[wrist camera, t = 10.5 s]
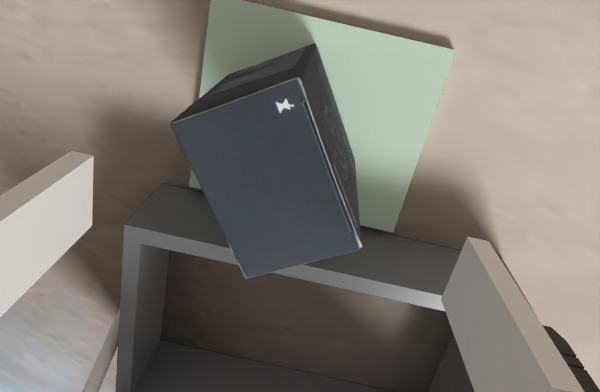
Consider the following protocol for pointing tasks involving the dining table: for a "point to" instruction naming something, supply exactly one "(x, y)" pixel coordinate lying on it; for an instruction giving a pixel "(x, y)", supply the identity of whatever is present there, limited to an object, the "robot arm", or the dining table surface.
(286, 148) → the box
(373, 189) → the pad
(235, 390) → the case
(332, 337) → the dining table surface
